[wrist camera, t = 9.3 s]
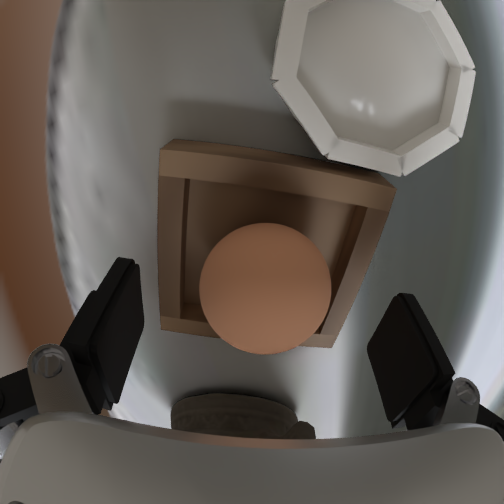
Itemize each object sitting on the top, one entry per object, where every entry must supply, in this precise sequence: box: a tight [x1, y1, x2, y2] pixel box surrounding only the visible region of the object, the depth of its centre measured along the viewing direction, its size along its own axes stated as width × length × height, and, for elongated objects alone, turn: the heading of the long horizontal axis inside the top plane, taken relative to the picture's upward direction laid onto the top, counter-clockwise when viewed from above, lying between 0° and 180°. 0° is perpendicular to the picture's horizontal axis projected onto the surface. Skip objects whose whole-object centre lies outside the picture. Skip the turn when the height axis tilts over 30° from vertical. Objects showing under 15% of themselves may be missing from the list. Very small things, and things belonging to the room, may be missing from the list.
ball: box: [199, 223, 331, 355], centre depth 12 cm, size 5×5×5 cm
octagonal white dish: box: [270, 0, 476, 177], centre depth 9 cm, size 8×8×2 cm
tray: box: [157, 139, 397, 348], centre depth 14 cm, size 9×9×2 cm
